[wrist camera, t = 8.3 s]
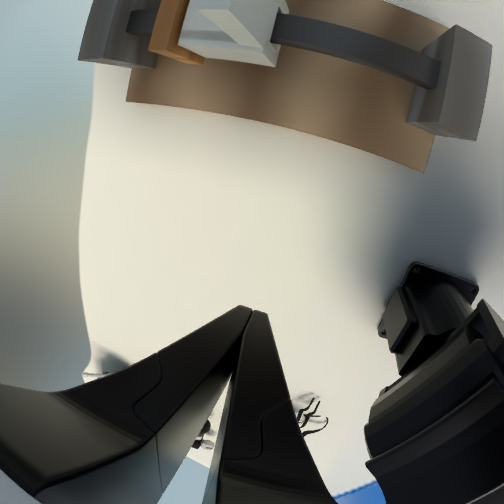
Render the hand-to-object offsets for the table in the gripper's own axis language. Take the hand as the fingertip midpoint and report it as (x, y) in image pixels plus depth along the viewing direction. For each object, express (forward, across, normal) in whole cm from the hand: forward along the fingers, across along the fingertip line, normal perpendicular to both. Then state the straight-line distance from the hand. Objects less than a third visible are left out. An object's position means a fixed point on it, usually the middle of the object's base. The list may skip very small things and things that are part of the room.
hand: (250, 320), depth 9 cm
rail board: (+12, +3, -10) cm, 16 cm away
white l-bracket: (+9, +5, -10) cm, 14 cm away
